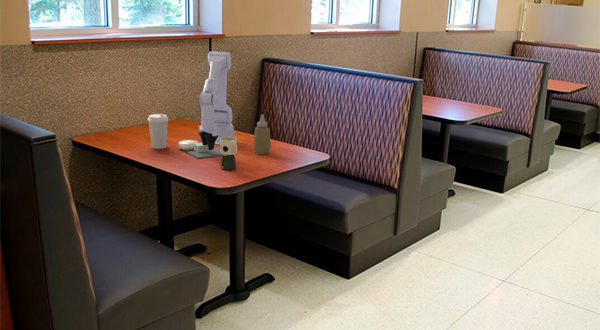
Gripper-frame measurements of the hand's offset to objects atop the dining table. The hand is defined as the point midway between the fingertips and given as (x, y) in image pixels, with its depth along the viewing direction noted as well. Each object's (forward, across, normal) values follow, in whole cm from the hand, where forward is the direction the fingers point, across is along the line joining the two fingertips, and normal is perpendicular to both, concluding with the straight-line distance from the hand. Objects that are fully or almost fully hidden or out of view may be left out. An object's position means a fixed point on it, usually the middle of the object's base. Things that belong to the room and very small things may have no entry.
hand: (208, 148), depth 271 cm
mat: (+2, 0, 0) cm, 3 cm away
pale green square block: (+2, -4, -2) cm, 5 cm away
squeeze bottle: (+3, +10, +22) cm, 24 cm away
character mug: (+3, +25, -3) cm, 26 cm away
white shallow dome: (+2, -13, -4) cm, 13 cm away
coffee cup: (+3, -22, -15) cm, 26 cm away
